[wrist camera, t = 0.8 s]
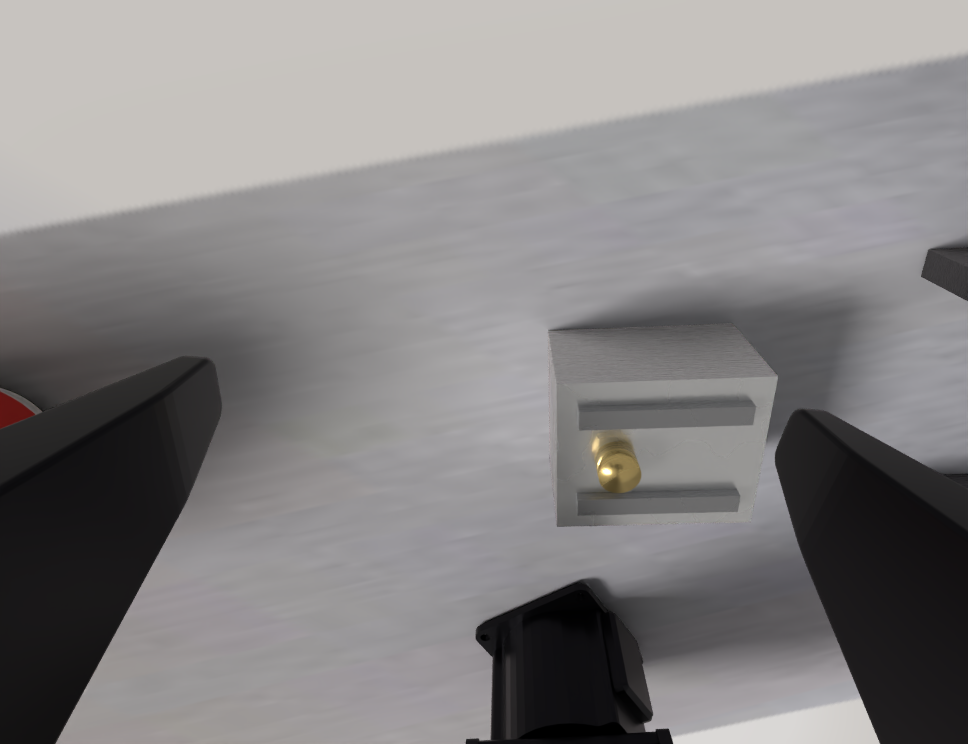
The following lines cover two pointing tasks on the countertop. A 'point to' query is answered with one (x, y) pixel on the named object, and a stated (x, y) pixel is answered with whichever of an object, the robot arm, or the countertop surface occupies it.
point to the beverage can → (15, 408)
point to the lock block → (656, 424)
